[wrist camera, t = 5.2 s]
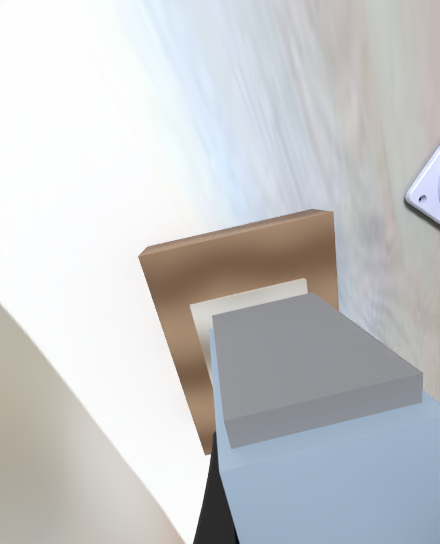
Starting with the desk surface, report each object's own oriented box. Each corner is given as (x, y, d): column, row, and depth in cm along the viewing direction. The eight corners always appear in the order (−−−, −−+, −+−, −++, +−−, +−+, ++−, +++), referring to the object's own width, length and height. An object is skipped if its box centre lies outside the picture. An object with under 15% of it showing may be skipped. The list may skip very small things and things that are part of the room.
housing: (330, 424, 13) (440, 606, 7) (237, 446, 12) (270, 651, 7) (315, 287, 11) (455, 382, 5) (204, 313, 10) (210, 442, 5)
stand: (147, 246, 15) (137, 257, 13) (312, 209, 16) (336, 212, 13) (204, 425, 20) (205, 459, 18) (327, 394, 21) (347, 424, 18)
